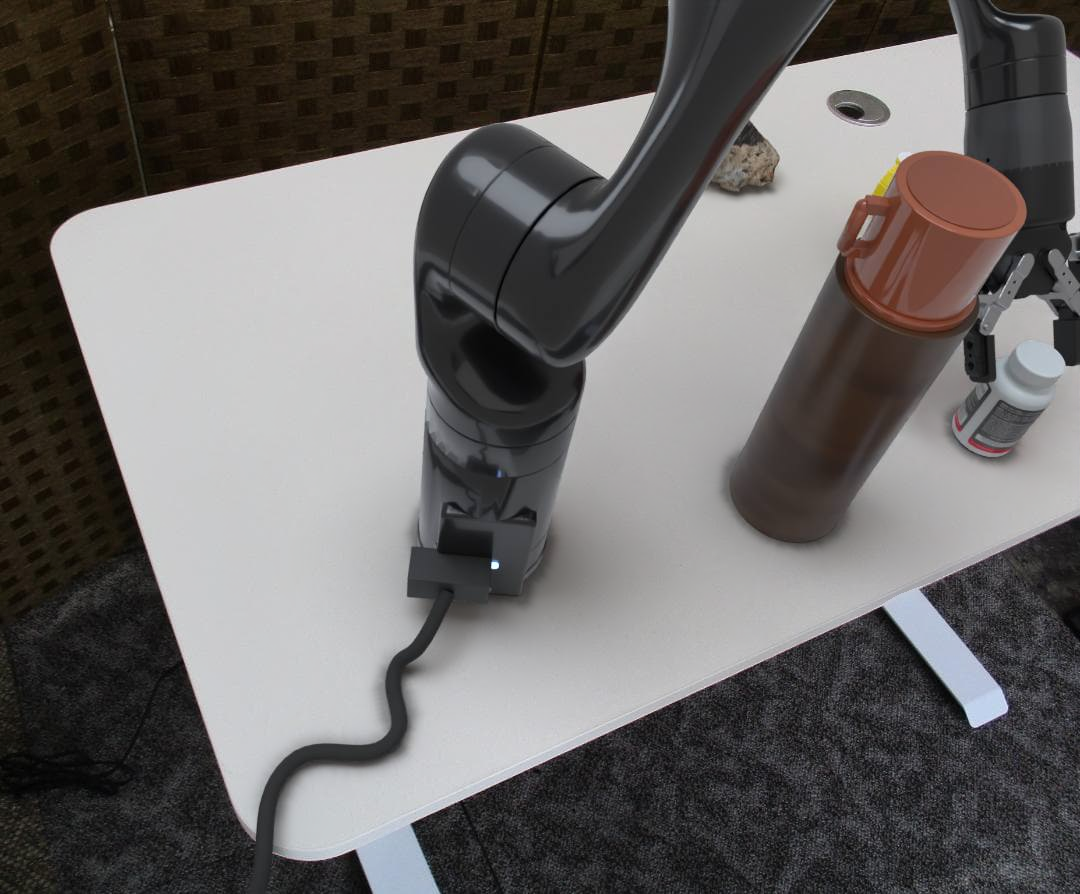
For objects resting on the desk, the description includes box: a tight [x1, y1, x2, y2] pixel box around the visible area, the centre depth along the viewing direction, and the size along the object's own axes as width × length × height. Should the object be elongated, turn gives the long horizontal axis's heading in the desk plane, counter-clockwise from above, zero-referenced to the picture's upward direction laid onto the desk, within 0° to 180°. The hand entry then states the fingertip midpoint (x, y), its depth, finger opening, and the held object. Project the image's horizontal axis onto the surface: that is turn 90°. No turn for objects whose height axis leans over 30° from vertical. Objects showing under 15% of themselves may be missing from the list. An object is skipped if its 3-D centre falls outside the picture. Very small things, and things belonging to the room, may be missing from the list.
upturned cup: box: [836, 150, 1027, 332], centre depth 57 cm, size 8×9×7 cm
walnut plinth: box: [729, 236, 980, 544], centre depth 69 cm, size 9×9×23 cm
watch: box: [871, 151, 914, 197], centre depth 100 cm, size 6×3×6 cm, turn 126°
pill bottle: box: [951, 339, 1067, 458], centre depth 81 cm, size 5×5×10 cm
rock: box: [711, 118, 781, 192], centre depth 100 cm, size 9×7×10 cm
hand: (1026, 373), depth 79 cm, fingers open, 8 cm apart
